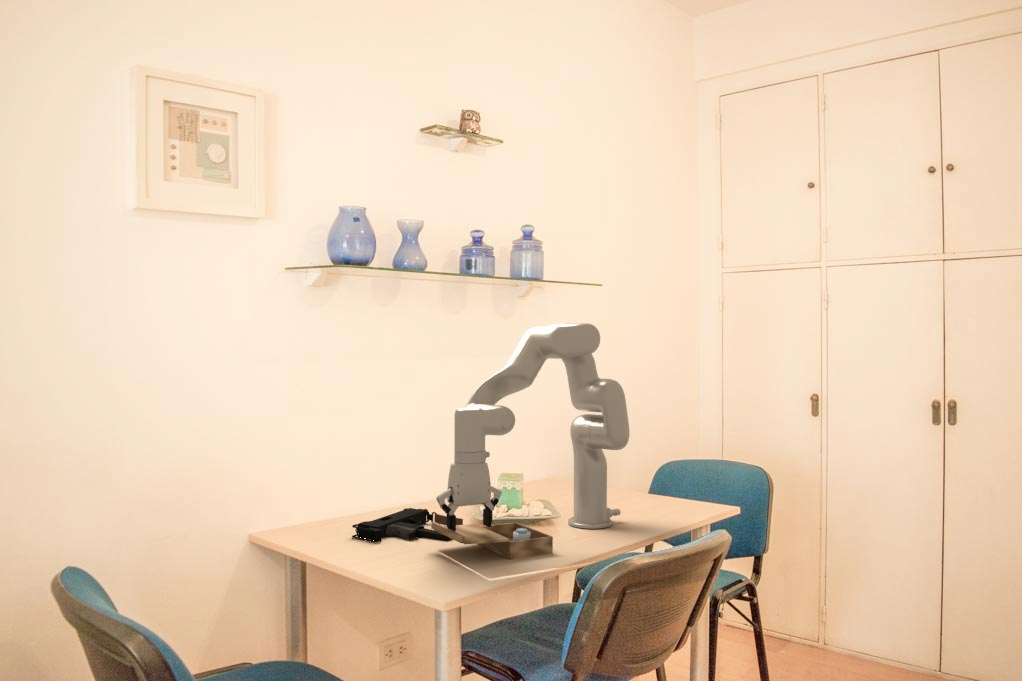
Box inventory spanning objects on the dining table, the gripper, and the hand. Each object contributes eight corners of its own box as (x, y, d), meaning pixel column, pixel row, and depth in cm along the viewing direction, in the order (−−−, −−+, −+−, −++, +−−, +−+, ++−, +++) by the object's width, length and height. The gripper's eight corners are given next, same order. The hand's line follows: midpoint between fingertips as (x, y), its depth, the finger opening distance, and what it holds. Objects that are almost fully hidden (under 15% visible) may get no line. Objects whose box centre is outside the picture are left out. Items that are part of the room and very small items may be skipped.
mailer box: (516, 539, 208) (516, 522, 208) (552, 555, 193) (552, 536, 193) (475, 544, 202) (475, 527, 202) (510, 561, 187) (510, 542, 187)
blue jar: (524, 543, 202) (524, 526, 202) (533, 547, 198) (533, 530, 198) (509, 545, 199) (510, 528, 200) (518, 549, 196) (518, 532, 196)
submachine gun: (486, 515, 221) (414, 502, 233) (427, 540, 196) (349, 524, 208) (486, 531, 221) (413, 517, 233) (426, 558, 196) (348, 541, 208)
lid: (430, 521, 196) (430, 528, 196) (462, 536, 180) (462, 544, 180) (475, 519, 202) (475, 526, 202) (510, 534, 187) (510, 541, 187)
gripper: (493, 453, 199) (493, 521, 199) (430, 458, 190) (430, 529, 190) (508, 457, 192) (508, 527, 192) (444, 462, 184) (443, 535, 184)
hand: (469, 528), depth 191 cm, fingers open, 9 cm apart
